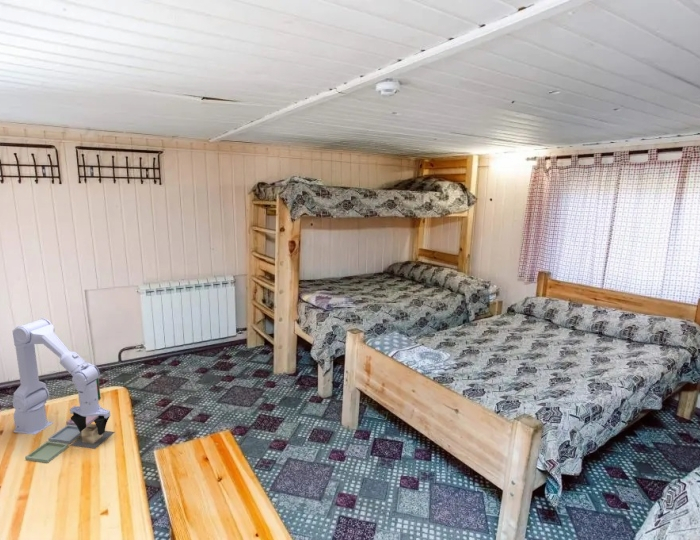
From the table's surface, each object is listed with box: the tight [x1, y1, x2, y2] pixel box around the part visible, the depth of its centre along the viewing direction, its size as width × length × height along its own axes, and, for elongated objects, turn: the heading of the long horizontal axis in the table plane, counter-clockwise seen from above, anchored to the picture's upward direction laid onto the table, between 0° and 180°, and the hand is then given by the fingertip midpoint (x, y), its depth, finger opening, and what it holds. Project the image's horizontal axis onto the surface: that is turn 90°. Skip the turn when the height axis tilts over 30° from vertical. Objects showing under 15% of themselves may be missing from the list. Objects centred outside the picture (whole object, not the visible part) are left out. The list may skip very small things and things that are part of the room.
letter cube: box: [81, 423, 103, 444], centre depth 145 cm, size 4×4×5 cm
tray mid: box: [47, 424, 82, 445], centre depth 147 cm, size 8×8×2 cm
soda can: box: [96, 377, 101, 401], centre depth 171 cm, size 5×5×12 cm
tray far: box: [66, 416, 98, 427], centre depth 157 cm, size 8×8×2 cm
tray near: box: [24, 440, 70, 464], centre depth 138 cm, size 8×8×2 cm
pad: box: [69, 430, 116, 450], centre depth 146 cm, size 10×10×1 cm
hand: (92, 432), depth 146 cm, fingers open, 7 cm apart
